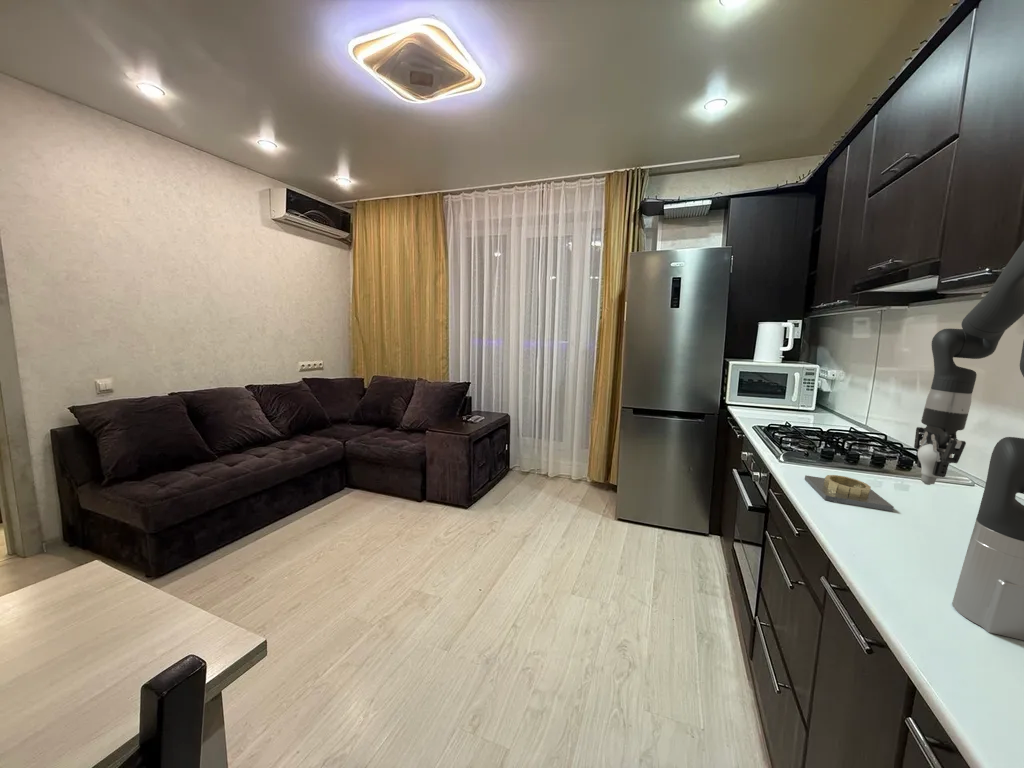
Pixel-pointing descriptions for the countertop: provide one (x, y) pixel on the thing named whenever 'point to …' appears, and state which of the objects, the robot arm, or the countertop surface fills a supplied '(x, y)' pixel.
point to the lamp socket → (847, 492)
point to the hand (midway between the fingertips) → (930, 471)
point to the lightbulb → (928, 463)
